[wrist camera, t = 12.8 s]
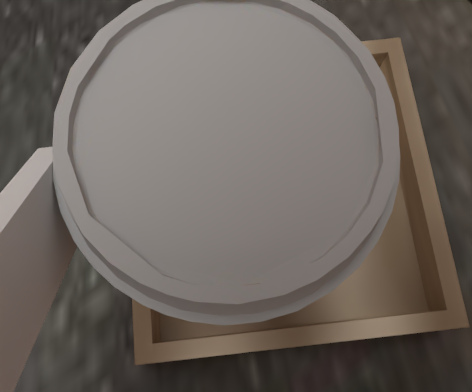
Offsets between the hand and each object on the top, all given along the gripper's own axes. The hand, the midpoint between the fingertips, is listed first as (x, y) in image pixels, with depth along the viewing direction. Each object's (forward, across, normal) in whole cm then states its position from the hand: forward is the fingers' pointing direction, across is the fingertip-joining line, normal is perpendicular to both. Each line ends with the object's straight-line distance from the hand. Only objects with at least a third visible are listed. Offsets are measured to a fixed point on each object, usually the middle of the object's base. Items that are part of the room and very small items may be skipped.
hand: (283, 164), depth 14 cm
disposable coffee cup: (+7, -2, -6) cm, 10 cm away
